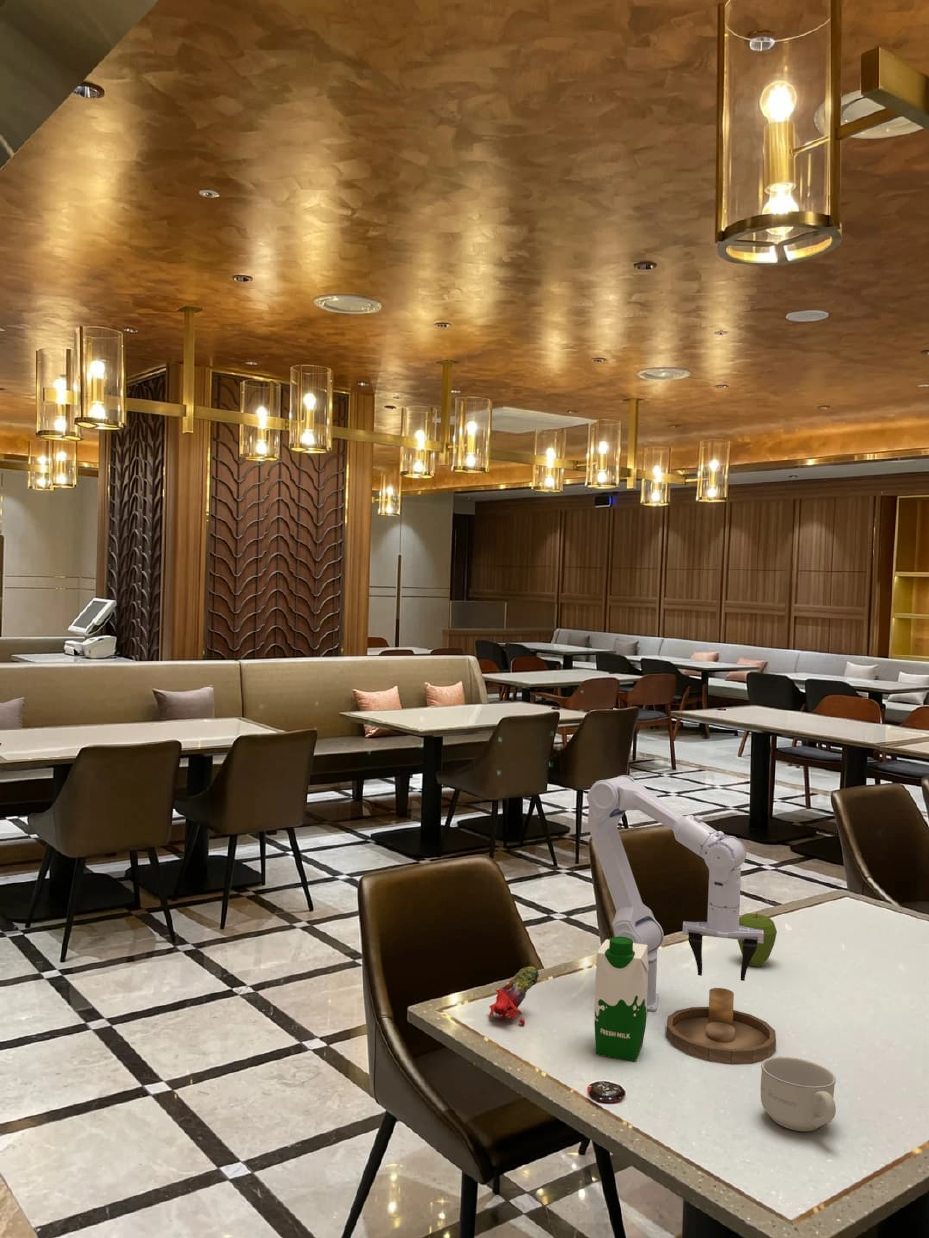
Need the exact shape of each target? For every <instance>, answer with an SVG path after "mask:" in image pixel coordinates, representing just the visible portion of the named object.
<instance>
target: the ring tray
mask: <svg viewBox="0 0 929 1238" xmlns="http://www.w3.org/2000/svg"><path fill="white" fill-rule="evenodd" d="M708 1018H709V1006H691V1007H686V1008H681V1009H678V1010H675V1011H674V1012H672V1013H671V1014H669V1015H668V1016H667V1019H666V1024H665V1025H666V1029H665V1031H666V1033H665V1035H666V1036H665V1037H666V1039H667V1040H668V1042H670V1044H671V1045H672V1047H674V1048H675V1049H678V1050H679V1051H681V1052H683V1053H685V1054H686V1055H688V1056H692V1057H694V1058H698V1059H701V1060H705V1061H707V1062H714V1063H721V1064H729V1065H741V1064H742V1065H744V1064H748V1065H749V1064H755V1063H758V1062H763V1061H764V1060H765V1059H768V1058H771V1057H772V1056H773V1055H774V1054H775V1053H776V1051H777V1049H776V1047H777V1036H776V1035H777V1034H776V1030H775V1029H774V1028H773V1027H772V1026H771V1025H770V1024H768V1022H767V1021H764V1020H763V1019H761V1018H759V1017H756V1016H755V1015H752V1014H749V1013H747V1012H743V1011H739V1010H736V1009H733V1026H731V1025H729V1024H726V1023H722V1022H712V1023H708Z"/></svg>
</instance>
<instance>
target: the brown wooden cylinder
mask: <svg viewBox="0 0 929 1238" xmlns="http://www.w3.org/2000/svg"><path fill="white" fill-rule="evenodd" d="M708 992H709V993H708V994H709V995H708V997H709V998H708V1007H709V1018H708V1023H712V1022H722V1023H726V1024H729V1025H731V1026H733V1010H734V1000H735V999H734V997H735V994H734V991H732V990H730V989H728V988H723V987H713V988H710V989H709V991H708Z"/></svg>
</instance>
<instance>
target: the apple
mask: <svg viewBox="0 0 929 1238" xmlns="http://www.w3.org/2000/svg"><path fill="white" fill-rule="evenodd" d="M739 926H743V927H748V928H753V929H758V930H763V932H764V937H763V943H757V949H756V951H755V953H754V955H753V956H752V958H751V960H750V963H749V965H748V966H752V967H756V968H758V967H761V966H762V965H763V964H765V962H766V961H767V960H768V959H769V958H770V955H771V953H772V950H773V948H774V946H775V943H776V940H777V939H776V938H777V933H778V932H777V928H776V925H775V922H774V920H773V919H771V918H770V917H769V916H767V915H764V914H758V913H757V912H756V913H745V914H743V915H741V916H739ZM737 943H738V945H739V949H740V952H741V955H742V954H743V940H737Z"/></svg>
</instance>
